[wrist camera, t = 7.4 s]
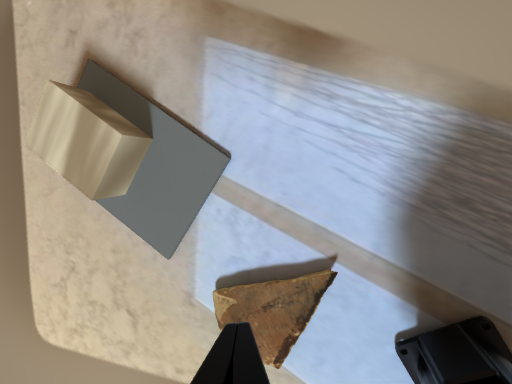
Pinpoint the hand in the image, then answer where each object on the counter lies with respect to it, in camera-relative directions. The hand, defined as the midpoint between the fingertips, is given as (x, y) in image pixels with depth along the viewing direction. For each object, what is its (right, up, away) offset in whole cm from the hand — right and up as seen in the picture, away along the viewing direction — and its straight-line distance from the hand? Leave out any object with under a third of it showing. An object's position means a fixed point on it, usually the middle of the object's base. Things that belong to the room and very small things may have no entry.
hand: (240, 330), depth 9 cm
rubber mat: (-11, +8, +14) cm, 19 cm away
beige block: (-10, +7, +12) cm, 17 cm away
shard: (+1, -4, +13) cm, 14 cm away
